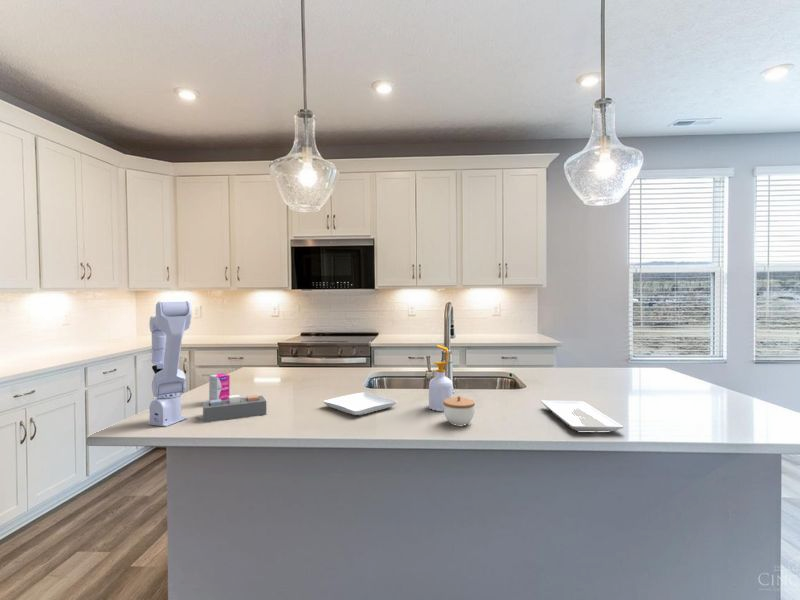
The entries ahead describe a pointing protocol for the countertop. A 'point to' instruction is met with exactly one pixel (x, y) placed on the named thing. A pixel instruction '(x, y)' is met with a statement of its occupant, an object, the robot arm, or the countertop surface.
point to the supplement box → (219, 386)
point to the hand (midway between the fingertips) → (161, 384)
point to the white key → (234, 399)
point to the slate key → (215, 402)
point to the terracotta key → (252, 398)
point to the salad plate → (360, 403)
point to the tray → (565, 414)
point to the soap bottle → (440, 386)
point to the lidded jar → (458, 410)
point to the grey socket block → (234, 409)
